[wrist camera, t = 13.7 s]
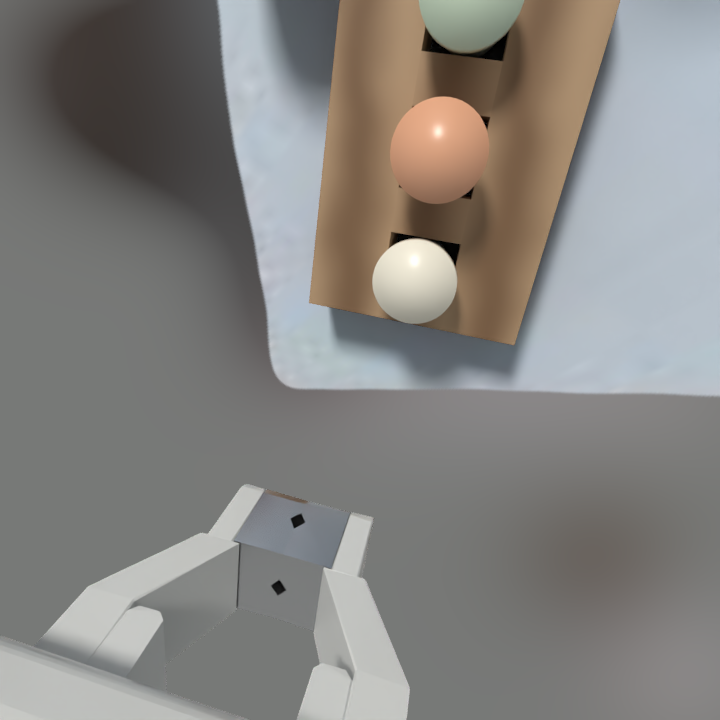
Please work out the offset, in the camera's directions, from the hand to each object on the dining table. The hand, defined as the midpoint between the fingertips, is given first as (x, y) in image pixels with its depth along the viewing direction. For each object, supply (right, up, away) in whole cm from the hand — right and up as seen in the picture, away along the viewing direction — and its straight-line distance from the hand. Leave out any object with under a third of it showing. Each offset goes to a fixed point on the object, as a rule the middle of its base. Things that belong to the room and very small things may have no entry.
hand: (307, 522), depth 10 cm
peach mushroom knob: (+7, +18, +23) cm, 30 cm away
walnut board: (+8, +19, +25) cm, 32 cm away
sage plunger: (+9, +26, +20) cm, 34 cm away
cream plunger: (+6, +12, +27) cm, 30 cm away
